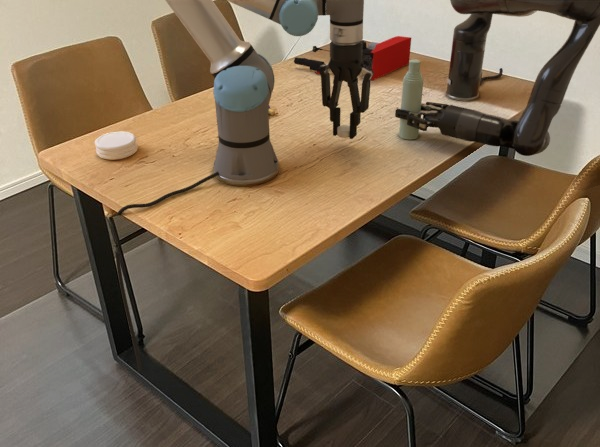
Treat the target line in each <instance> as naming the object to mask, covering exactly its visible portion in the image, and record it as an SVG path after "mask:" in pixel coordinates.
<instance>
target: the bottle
mask: <svg viewBox="0 0 600 447" xmlns="http://www.w3.org/2000/svg"><path fill="white" fill-rule="evenodd" d="M421 63H422V61H421V60H420V59H417V58H412V59H409V64H408V70H407V72H406V73H405V74H404V76H403V79H402V89H401V102H400V103H401V104H400V109H402V110H407V111H410V112H419V111H421V104H422V100H423V90H424V77H423V74H422V73H421V70H420V69H421ZM416 117H418V116H416ZM398 128H399V129H398V130H399V131H398V137H399V138H400V139H403V140H415V139H418V137H419V131H420V130H419V129H417V128H414V127H411V126H409V125H407V120H405V119H400V118H399V127H398Z"/></svg>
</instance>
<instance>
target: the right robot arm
mask: <svg viewBox="0 0 600 447" xmlns="http://www.w3.org/2000/svg"><path fill="white" fill-rule="evenodd" d="M449 1H450V5H451V7H452V9H453V10H454V11H455V12H456V13H458V14H460V15H469V16H468V17H467V18H466V19H465V20H464V21H462V22H460V23H459V24H457V25H456V26H455V27H454V28H453V32H452V33H453V35H452V43H451V52H450V60H449V67H448V68H449V69H448V76H447V77H446V83H447V85H446V91H445V96H446V97H447V98H449V99H451V100H454V101H461V102H469V101H474V100H476V99H478V98H479V96H480V95H479V94H480V93H479V92H480V86H481V85H482V83H483V82H484V81H487V80H496V79H500V78H501V77H502V75H503V72H504V71H503V68H502V67H500V68H499V72H498V74H497V75H489V76H483V71H482V70H483V65H484V58H485V50H486V45H487V38H488V33H489V31H490V29H491V26H492V21H493V15H499V16H506V17H516V18H517V17H519V18H521V17H529V16H532V15H534V14H535V13H537V12H544V13H548V14H553V15H556V16H559V17H562V18H565V19H569V20H572V21H574V22H573V26H572V29H571V31H570V33H569V35H568V37H567V39H566V40H565V42H564V43H563V44H562V45H561V47H560V48H559V49H558V50H557V51H556V52H555V53H554V54H553V55H552V56H551V57H550V58H549V60H547V61H546V62H545V63H544V65H543V67H541V69H540V70H539V72H538V74H537V76H536V78H535V80H534V83H533V86H532V89H531V91H530V95H529V98H528V101H527V103H526V106H525V108H524V109H523V112H522V113H521V116H520V117H519V120H513V119H508V118H505V117H501V116H499V115H494V114H489V113H484V112H481V111H479V110H476V109H471V108H467V107H463V106H457V105H453V104H447V103H440V102H433V101H426V102H425V103H421V111H419V112H410V111H407V110H402V109H401V108H396V109H395V111H394V116H395V118H396V119H399V120H400V119H405V120H407V125H409V126H411V127H414V128H417V129H419V131H422V132H427V131H428V128H436V129H437V128H438V130H439V132H440V134H441V135H443V136H446V137H449V138H454V139H457V140H462V141H465V142H472V143H473V142H474V143H479V144H483V145H487V146H490V147H505V148H508V149H512V150H514V151H515V152H516V153H517V154H518V155H521V156H525V157H530V156H535V155H538V154H541V153H542V152H544V151H546V149H547V148H548V147H549V145H550V143H551V134H550V132H549V128H550V126H551V123H552V121H553V119H554V117H556V115H557V114H559V111H560V109H561V107H562V104H563V101H564V98H565V96H566V93H567V90H568V88H569V85H570V83H571V80H572V78H573V76H574V73H575V71H576V70H577V68H578V66H579V63H580V62H581V60H582V58H583V56H584V55H585V53H586V51H587V49H588V48H589V46H590V44H591V42H592V41H593V39H594V37H595V34H596V33H597V31H598V29H599V28H600V0H449ZM416 116H418V117H416Z"/></svg>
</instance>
